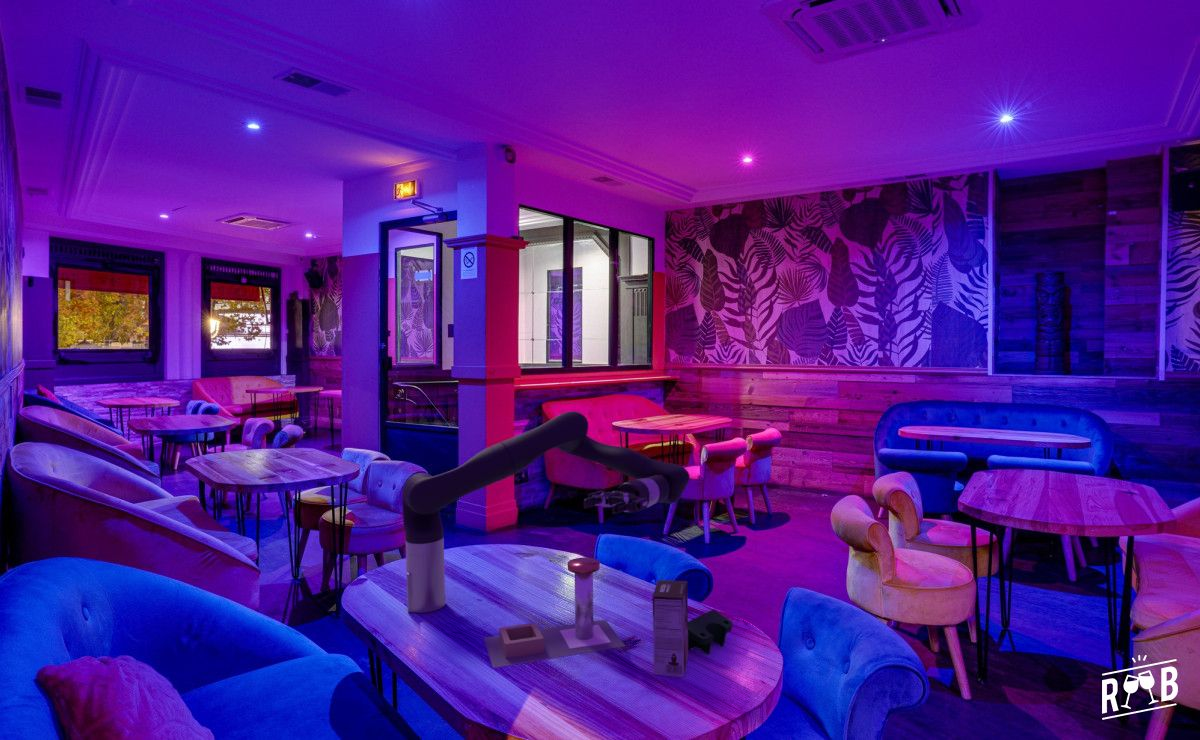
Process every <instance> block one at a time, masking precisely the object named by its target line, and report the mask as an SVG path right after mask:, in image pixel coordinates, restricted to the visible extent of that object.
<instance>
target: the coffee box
mask: <svg viewBox="0 0 1200 740" xmlns="http://www.w3.org/2000/svg"><path fill="white" fill-rule="evenodd" d="M688 583H689V582H688V580H666V579H665V580H664V579H663V580H661V579H659V580H657V582H656V585H655V588H654V591H653V594H652V631H653V633H652V634H653V635H652V637H653V638H652V639H653V642H652V643H653V675H655V676H663V677H677V678H685V676H686V673H687V666H688V660H689V651H688V622H689V616H688V615H689V614H688V613H689V609H688V607H689V606H688V605H689V604H688V603H689V602H688Z"/></svg>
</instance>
